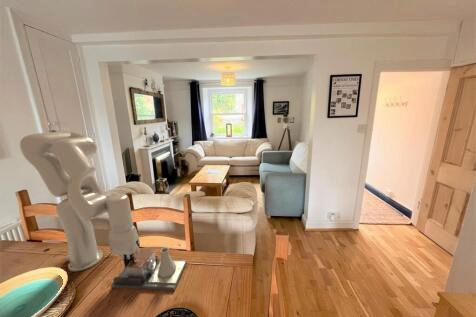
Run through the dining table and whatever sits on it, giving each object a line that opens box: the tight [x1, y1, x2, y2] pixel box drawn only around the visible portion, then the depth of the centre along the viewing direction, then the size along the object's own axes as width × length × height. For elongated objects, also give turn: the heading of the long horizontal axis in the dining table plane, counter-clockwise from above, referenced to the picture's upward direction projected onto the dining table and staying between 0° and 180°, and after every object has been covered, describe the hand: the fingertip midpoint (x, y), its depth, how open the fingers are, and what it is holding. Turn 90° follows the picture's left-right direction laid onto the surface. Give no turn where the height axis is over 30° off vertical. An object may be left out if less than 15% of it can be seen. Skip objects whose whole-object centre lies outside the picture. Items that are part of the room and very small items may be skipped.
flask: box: [158, 246, 176, 277], centre depth 78 cm, size 7×7×10 cm
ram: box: [126, 247, 156, 281], centre depth 79 cm, size 8×10×7 cm
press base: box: [110, 254, 188, 292], centre depth 80 cm, size 25×14×4 cm, turn 86°
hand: (129, 265), depth 80 cm, fingers closed
